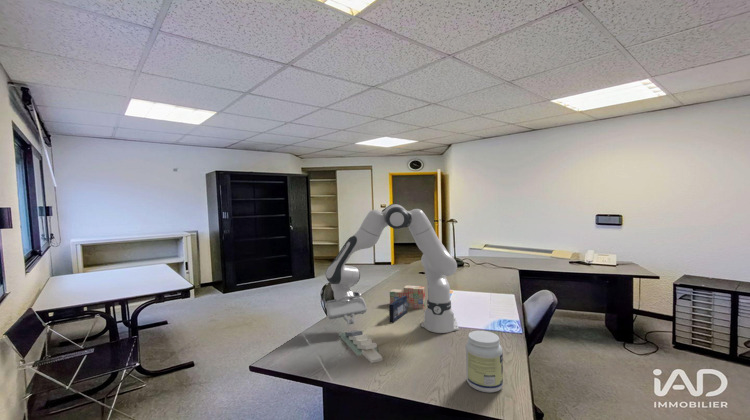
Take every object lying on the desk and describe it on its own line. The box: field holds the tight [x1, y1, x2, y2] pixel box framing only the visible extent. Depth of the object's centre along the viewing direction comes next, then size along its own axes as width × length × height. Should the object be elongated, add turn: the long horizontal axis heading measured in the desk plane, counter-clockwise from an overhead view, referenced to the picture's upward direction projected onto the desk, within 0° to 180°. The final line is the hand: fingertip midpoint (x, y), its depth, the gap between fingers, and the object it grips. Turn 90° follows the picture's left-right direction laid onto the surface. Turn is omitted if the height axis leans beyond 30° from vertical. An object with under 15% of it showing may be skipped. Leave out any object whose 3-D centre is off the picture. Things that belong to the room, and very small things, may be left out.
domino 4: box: [357, 342, 378, 350], centre depth 137 cm, size 2×5×10 cm
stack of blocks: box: [389, 285, 426, 310], centre depth 198 cm, size 21×6×12 cm, turn 70°
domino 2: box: [349, 334, 368, 341], centre depth 146 cm, size 2×5×10 cm
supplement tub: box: [465, 330, 504, 393], centre depth 111 cm, size 12×12×17 cm
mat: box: [338, 329, 379, 357], centre depth 147 cm, size 25×10×1 cm, turn 26°
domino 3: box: [353, 338, 373, 345], centre depth 141 cm, size 2×5×10 cm
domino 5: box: [362, 348, 384, 364], centre depth 132 cm, size 2×5×10 cm
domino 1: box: [344, 330, 364, 337], centre depth 150 cm, size 2×5×10 cm
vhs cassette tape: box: [388, 296, 408, 324], centre depth 178 cm, size 18×3×10 cm, turn 148°
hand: (351, 323), depth 153 cm, fingers closed
